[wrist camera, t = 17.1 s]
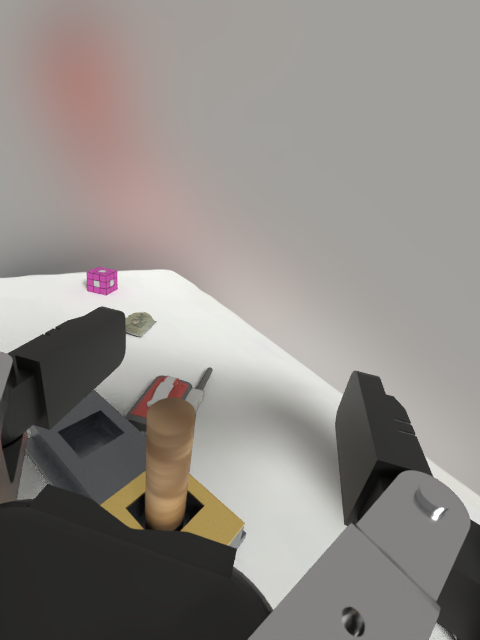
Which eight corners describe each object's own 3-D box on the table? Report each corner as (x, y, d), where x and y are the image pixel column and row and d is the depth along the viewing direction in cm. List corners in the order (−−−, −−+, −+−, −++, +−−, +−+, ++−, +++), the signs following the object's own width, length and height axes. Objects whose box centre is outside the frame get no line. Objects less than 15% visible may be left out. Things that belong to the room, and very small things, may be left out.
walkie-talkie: (175, 456, 42) (215, 375, 60) (178, 433, 40) (217, 356, 58) (117, 439, 43) (173, 364, 61) (116, 415, 41) (174, 346, 59)
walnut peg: (166, 501, 35) (173, 391, 28) (191, 525, 33) (205, 414, 26) (136, 528, 32) (136, 413, 25) (161, 557, 30) (169, 440, 23)
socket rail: (102, 407, 48) (101, 385, 46) (244, 538, 34) (251, 514, 32) (22, 447, 39) (17, 422, 37) (166, 643, 25) (170, 619, 24)
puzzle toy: (117, 289, 90) (117, 270, 87) (106, 295, 84) (105, 276, 82) (99, 285, 90) (98, 266, 88) (87, 291, 85) (86, 271, 83)
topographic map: (163, 316, 80) (164, 310, 79) (140, 338, 67) (141, 332, 67) (115, 307, 81) (114, 301, 80) (83, 328, 68) (83, 321, 68)
